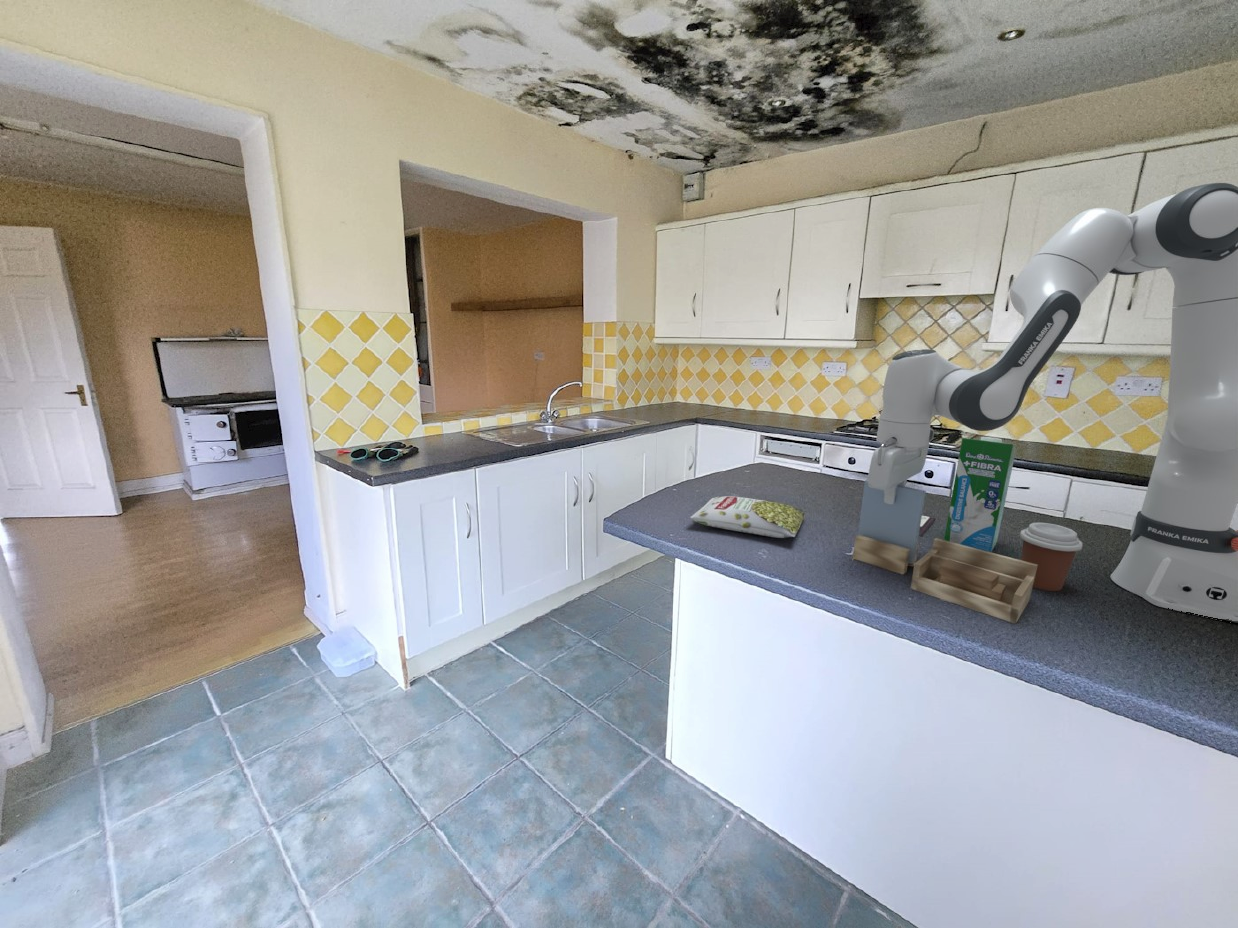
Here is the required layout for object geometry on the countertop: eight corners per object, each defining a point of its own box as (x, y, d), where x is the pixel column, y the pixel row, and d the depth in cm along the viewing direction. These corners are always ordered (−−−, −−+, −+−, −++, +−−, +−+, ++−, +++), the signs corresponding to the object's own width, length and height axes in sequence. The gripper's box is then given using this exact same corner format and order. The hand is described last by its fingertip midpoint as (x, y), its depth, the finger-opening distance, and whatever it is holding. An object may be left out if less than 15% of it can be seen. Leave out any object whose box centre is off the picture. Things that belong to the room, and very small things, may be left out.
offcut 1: (997, 583, 90) (999, 574, 89) (990, 590, 87) (992, 581, 87) (946, 567, 95) (948, 558, 95) (938, 574, 93) (940, 565, 93)
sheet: (914, 561, 103) (925, 490, 99) (911, 563, 102) (923, 492, 98) (859, 544, 111) (868, 478, 107) (856, 546, 110) (865, 480, 106)
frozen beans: (796, 524, 113) (688, 507, 124) (793, 549, 114) (687, 529, 125) (807, 500, 131) (713, 487, 142) (805, 522, 132) (711, 507, 143)
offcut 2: (1003, 594, 89) (1005, 585, 89) (999, 602, 87) (1001, 593, 86) (945, 577, 96) (946, 568, 95) (939, 584, 93) (940, 575, 92)
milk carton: (996, 542, 119) (1018, 437, 112) (990, 554, 112) (1013, 443, 106) (951, 532, 124) (970, 431, 118) (943, 542, 118) (962, 437, 112)
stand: (914, 568, 105) (919, 542, 104) (902, 578, 101) (906, 551, 99) (865, 553, 113) (868, 528, 111) (851, 562, 108) (855, 537, 106)
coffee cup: (1006, 572, 104) (1018, 517, 101) (1064, 583, 99) (1078, 525, 96) (1013, 591, 96) (1026, 532, 93) (1075, 604, 92) (1091, 542, 89)
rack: (1028, 605, 91) (1037, 564, 89) (1014, 628, 84) (1024, 585, 82) (929, 574, 103) (935, 537, 101) (909, 593, 95) (916, 553, 93)
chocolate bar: (877, 528, 125) (897, 510, 138) (877, 532, 125) (897, 513, 138) (918, 538, 119) (935, 518, 132) (918, 542, 119) (935, 521, 132)
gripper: (899, 445, 91) (888, 517, 94) (937, 430, 104) (926, 494, 107) (863, 439, 95) (854, 509, 99) (904, 426, 108) (894, 487, 112)
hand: (892, 501), depth 103 cm, fingers closed on sheet, 1 cm apart
